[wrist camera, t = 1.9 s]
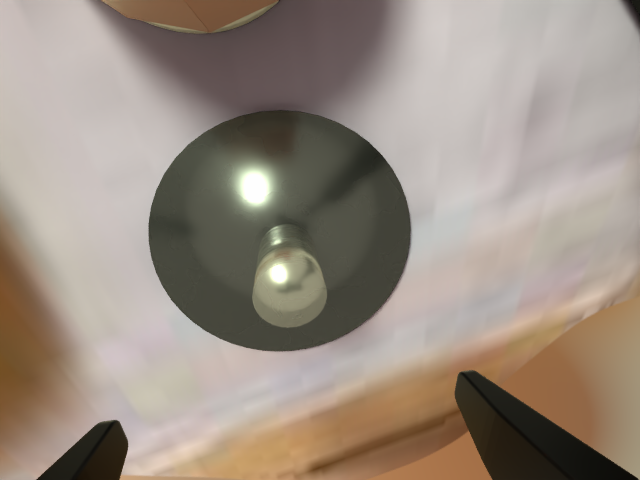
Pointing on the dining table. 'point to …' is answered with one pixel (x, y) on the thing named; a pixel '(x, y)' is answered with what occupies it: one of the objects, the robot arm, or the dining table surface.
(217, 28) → the bowl
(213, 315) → the lid
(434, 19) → the dining table surface
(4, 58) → the dining table surface
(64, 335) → the dining table surface
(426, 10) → the dining table surface
